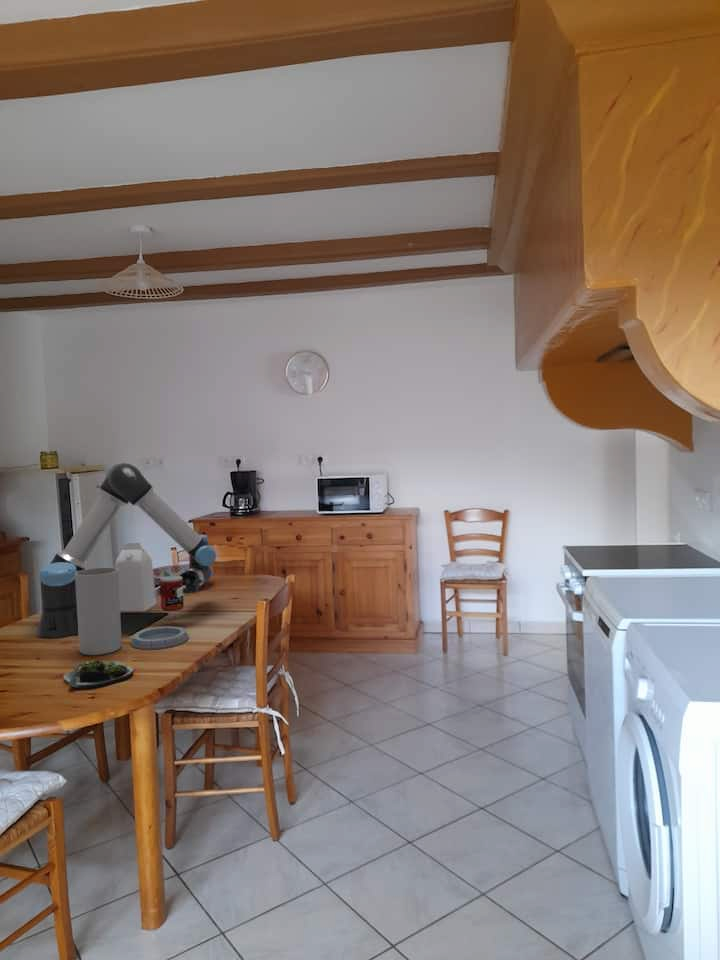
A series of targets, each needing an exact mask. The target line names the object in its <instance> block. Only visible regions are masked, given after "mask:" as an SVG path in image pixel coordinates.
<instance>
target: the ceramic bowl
mask: <svg viewBox="0 0 720 960" xmlns="http://www.w3.org/2000/svg"><path fill="white" fill-rule="evenodd" d="M189 569H190V567H189V564H186V563H185V564H173V565H164V566H158V567H155V568H154V567H153V577H154V586H155V585H156V584H159V583H160V579H161V578H162V577H166V576H180V574H182V573H183V572H185V571H187V570H189ZM211 569H212V567H211ZM212 570H213V569H212Z"/></svg>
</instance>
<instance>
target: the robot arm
mask: <svg viewBox="0 0 720 960" xmlns="http://www.w3.org/2000/svg"><path fill="white" fill-rule="evenodd" d="M107 472H108V473H107V474H106V475H107V476H106V477H105V478H104V481H103V482H102V483H101V485H100V486H99V488H98V490H99V496H98V497H97V498H96V500H95V502H94V503H93V504H92V506H91V508H90V510H89V511H88V512H87V515H86V516H85V517H84V519H83V520H82V521H81V523H80V524H79V527H78V528H77V530H76V531H75V532H74V534H73V535H72V537H71V539H70V540H69V542H68V543H67V545H66V546H65V548H64V549H63V550H62V551H57V553H56V554H55V555H54V557H53V558H52V559H51V561H50V563H48V564H46V565H43V566H42V567H41V568H40V570H39V581H40V582H39V583H40V597H41V599H40V600H41V615H40V618H39V619H40V620H39V623H38V626H37V636H38V637H39V636H40V637H39V638H45V639H55V638H64V637H65V638H66V637H69V636H74V635H77V634H78V617H77V600H76V582H75V573H76V572H78V571H81V570H86V569H88V568H87V563H86V562H87V560H88V558H89V556H91V554H92V552H93V551H94V549H95V547H96V546H97V545H98V543H99V541H100V540H101V539H102V536H103V535H104V534H105V532H106V530H107V529H108V527H109V526H110V524H111V522H113V520H114V518H115V517H116V515H117V513H118V512H119V510H120V508H121V507H123V506H127V505H128V504H129V503H130V504H131V506H135V507H136V506H137V507H138V508H139V509H140V510H141V511H143V513H145V514H146V515H147V516H148V517H149V518H150V519H151V520H152V521H153V522H154V523H156V525H157V526H158V527H160V529H162V530H163V531H164V532H165V534H167V535H168V536H169V537H170V538H171V539H173V541H174V542H176V543H177V544H178V545H179V546H180V547H181V548H182V549H183V550H184V551H186V553H187V554H188V557H189V560H188V561H189V562H188V563H189V567H190V569H189V570H187V571H185V572H183V573H182V574H180V576H181V577H183V587H181V588H179V589H177V597H181V596H182V595H183V596H184V595H186V594H189V593H191V592H192V593H193V594H194V593H197V591H198V590H199V589H200V588H203V585H204V584H206V583H207V582H209V580H211V578H212V577H213V569H211V568H212V567H211V565H212V564H214V562H215V561H216V558H217V553H216V550H215V549H214V547H212V545H210V542H209V537H208V535H206V534H199V533H197V532H196V531H195V530H194V529H193V528H192V527H191V526H190V525H189V524H188V523H187V522H186V521H185V520H184V519H183V518H182V517H181V516H180V515H179V514H178V513H177V512H175V510H174V509H173V508H171V507H170V506H169V505H168V504H167V503H166V502H165V501H164V500H163V499H162V498H161V497H160V496H159V495H158V494H157V493H156V492H155V491H154V486H153V485H152V484H151V483H150V482H149V481H148V480H147V479H146V478H145V477H144V475H143V474H142V472H141V471H140V469H139V468H138V467H136V466H135V465H133V464H131V463H125V462H121V463H117V464H116V465H113V466H112V467H111V468H110V469H109V471H107ZM154 586H155V589H154V597H156V598H157V597H159V596H161V587H160V583H159V584H156V585H155V584H154ZM78 635H79V634H78Z"/></svg>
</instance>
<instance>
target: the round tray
mask: <svg viewBox="0 0 720 960" xmlns="http://www.w3.org/2000/svg"><path fill="white" fill-rule="evenodd" d="M188 641H189V634H188V633H187V632H186V629H185V628H184V627H183V628H182V627H179V626H157V627H151V628H148V629H147V628H146V629H143V630H140V631H139V632H136V633H134V635H133V637H132V638H131V640H130V646H131V648H134V649H137V650H144V651H151V650H155V651H156V650H164V649H170V648H174V647H177V646H180V645H182V644H185V643H186V642H188Z"/></svg>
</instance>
